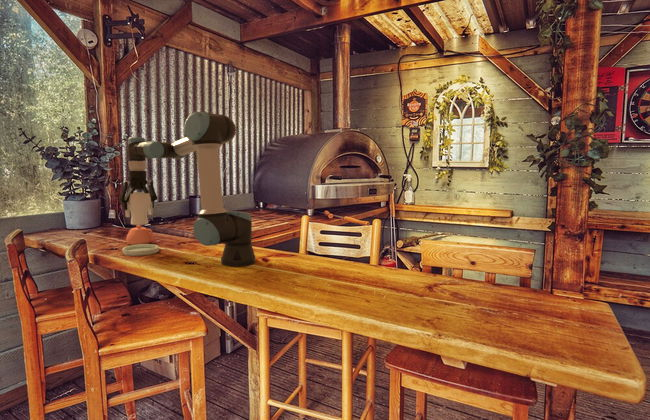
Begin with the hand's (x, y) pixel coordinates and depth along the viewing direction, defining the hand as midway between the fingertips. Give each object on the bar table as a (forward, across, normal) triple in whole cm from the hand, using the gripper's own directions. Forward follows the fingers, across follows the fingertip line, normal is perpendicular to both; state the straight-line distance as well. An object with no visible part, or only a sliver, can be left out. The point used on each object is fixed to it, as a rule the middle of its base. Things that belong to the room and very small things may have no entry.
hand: (139, 215), depth 190 cm
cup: (+4, 0, 0) cm, 4 cm away
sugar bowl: (+18, -9, -17) cm, 26 cm away
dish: (+18, 0, 0) cm, 18 cm away
